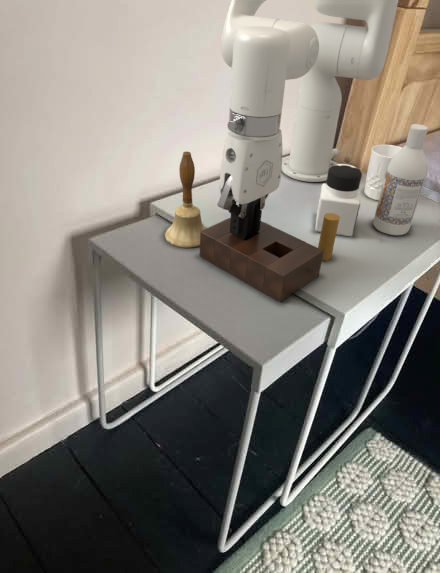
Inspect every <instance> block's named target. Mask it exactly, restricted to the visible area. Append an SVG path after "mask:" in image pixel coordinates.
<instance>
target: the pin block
mask: <svg viewBox="0 0 440 573" xmlns="http://www.w3.org/2000/svg"><path fill="white" fill-rule="evenodd" d="M230 219H231V216H230V217H228V218H226V219H224V220H222V221H219V222H218V223H216V224H213V225H211V226H209V227H206V229H205V230H203V231H201V232H200V246H199V257H200V258H202V259H203V260H205V261H206V262H209V263H210V264H213V265H214V266H215V267H217V268H218V269H221V270H222V271H224V272H226V273H228V274H229V275H231V276H232V277H235V278H237V279H238V280H239V281H242V282H244V283H245V284H247V285H248V286H251V287H253V288H254V289H255V290H257V291H259V292H261V293H263V294H265V295H266V296H268V297H270V298H272V299H274V300H275V301H276V302H279V303H281V302H283V301H284V300H285V299H287V298H289V297H290V296H291V295H293V294H294V293H296V292H297V291H299V290H300V289H302V288H303V287H305V286H306V285H308V284H309V283H310V282H312V281H314V280H315V279H316V278H317V277H319V276H320V271H321V268H322V262H323V260H322V257H323V252H324V251H323V250H321V249H319V248H318V246H315V245H313V244H311V243H308V242H306V241H304V240H302V239H300V238H298V237H296V236H294V235H292V234H289V233H287V232H285V231H284V230H281V229H279V228H277V227H274V226H273V225H271V224H268V223H267V222H265V221H262V220H261V223H260V230H259V231H258V232H255V231H253V230H252V238H250V239H248V240H246V241H245V240H244V239H241V238H239V237H237V236H235V235H233V234H231V233H230Z"/></svg>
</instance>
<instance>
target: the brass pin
mask: <svg viewBox="0 0 440 573" xmlns="http://www.w3.org/2000/svg"><path fill="white" fill-rule="evenodd" d="M339 219H340V217H339V216H338V215H337V214H334V213H326V214H325V215H324V219H323V224H322V229H321V232H320V236H319V239H318V246H317V248H319V249H321V250H323V251H324V252H323V257H322V261H325V262H327V261H330V260H331V259H332V257H333V251H334V247H335V243H336V242H335V241H336V237H337V234H336V233H337V228H338V224H339Z"/></svg>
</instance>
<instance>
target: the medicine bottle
mask: <svg viewBox="0 0 440 573" xmlns="http://www.w3.org/2000/svg"><path fill="white" fill-rule="evenodd" d="M362 176H363V173H362V171H361V169H359V168H358V167H356V166H354V165H351V164H348V163H337V164H333V165H332V166H331V167H330V168H329V170H328V176H327V181H325V182H324V183H322V184H321V189H320V194H319V200H318V205H317V209H316V210H317V211H316V217H315V225H314V226H315V227H314V231H315V232H316V233H321V229H322V224H323V219H324V215H325V214H326V213H334V214H337V215H338V216H339V217H340V219H339V224H338V228H337V233H336V236H337V235H338V236H345V237H353V235H354V232H355V228H356V224H357V220H358V215H359V211H360V207H361V195H360V194H361V193H360V185H361V182H362Z"/></svg>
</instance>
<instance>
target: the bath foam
mask: <svg viewBox="0 0 440 573" xmlns="http://www.w3.org/2000/svg"><path fill="white" fill-rule="evenodd" d="M428 131H429V127H428V126H426V125H424V124H420V123H413V124H411V125H410V127H409V132H408V134H407V138H406V140H405V141H406V142H405V145H404V146H403V147H401V148H402V149H401V150H400V151H398V152H397V153H396V154H395V156H394V157H393V158H392V159H391V161H390V163H389V165H388V168H387V171H386V175H385V179H384V182H383V186H382V190H381V194H380V198H379V200H377V201H378V202H377V205H376V209H375V212H374V213H375V214H374V217H373V223H372V224H373V226H374V228H375V229H376V230H377V231H379V232H381V233H383V234H386V235H390V236H403V235H405V234H407V233H408V232H409V231H410V228H411V225H412V222H413V219H414V216H415V213H416V209H417V206H418V203H419V199H420V196H421V193H422V190H423V187H424V184H425V181H426V179H427V178H426V177H427V173H428V162H427V158H426V155H425V152H424V149H423V147H424V144H425V140H426V137H427V134H428Z"/></svg>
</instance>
